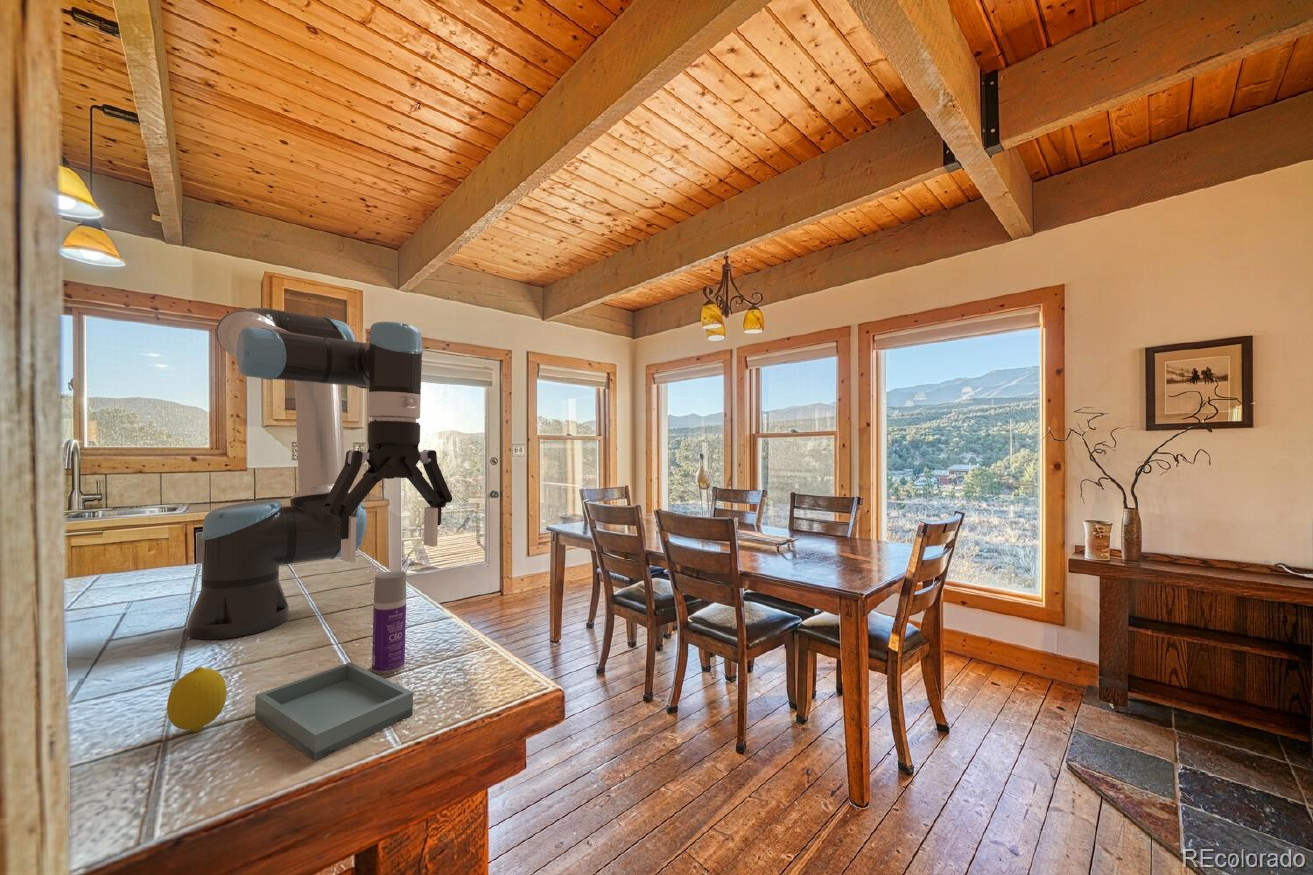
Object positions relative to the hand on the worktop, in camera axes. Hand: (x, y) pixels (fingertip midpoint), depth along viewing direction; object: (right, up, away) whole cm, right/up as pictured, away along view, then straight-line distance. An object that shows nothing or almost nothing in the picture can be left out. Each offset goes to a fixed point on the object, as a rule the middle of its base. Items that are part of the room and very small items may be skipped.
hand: (392, 552), depth 82 cm
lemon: (-15, -18, -18) cm, 30 cm away
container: (-1, -19, 0) cm, 19 cm away
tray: (0, -19, -14) cm, 23 cm away
